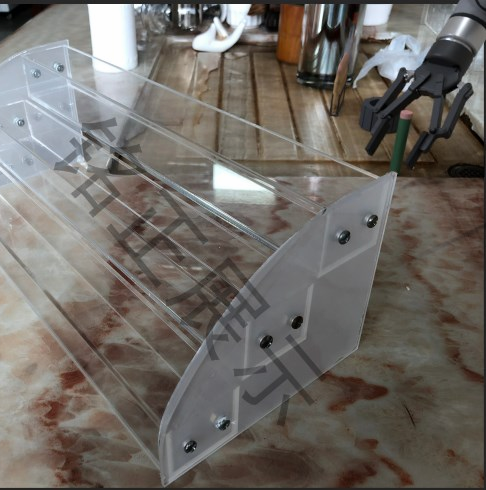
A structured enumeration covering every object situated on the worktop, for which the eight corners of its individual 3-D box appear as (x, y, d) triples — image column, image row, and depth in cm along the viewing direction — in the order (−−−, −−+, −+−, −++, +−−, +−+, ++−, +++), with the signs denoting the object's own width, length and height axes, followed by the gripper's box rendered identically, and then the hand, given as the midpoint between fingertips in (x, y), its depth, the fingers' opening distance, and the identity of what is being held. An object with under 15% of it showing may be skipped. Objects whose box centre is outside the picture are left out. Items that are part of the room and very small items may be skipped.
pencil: (401, 174, 111) (415, 112, 104) (394, 176, 110) (407, 115, 103) (393, 170, 112) (406, 109, 106) (386, 172, 112) (398, 111, 105)
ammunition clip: (336, 100, 144) (343, 49, 138) (343, 100, 144) (351, 50, 137) (328, 115, 136) (336, 62, 129) (337, 116, 135) (344, 63, 129)
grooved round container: (408, 127, 129) (413, 105, 126) (381, 136, 125) (385, 113, 123) (378, 115, 135) (382, 94, 132) (350, 123, 132) (354, 101, 129)
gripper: (513, 73, 103) (444, 186, 104) (407, 51, 116) (346, 151, 116) (509, 49, 98) (436, 168, 98) (398, 28, 110) (334, 133, 111)
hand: (387, 159), depth 107 cm, fingers open, 7 cm apart
